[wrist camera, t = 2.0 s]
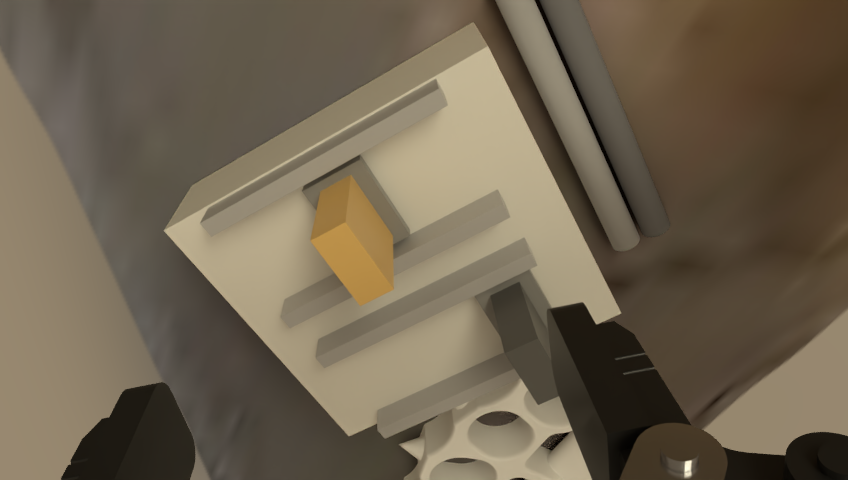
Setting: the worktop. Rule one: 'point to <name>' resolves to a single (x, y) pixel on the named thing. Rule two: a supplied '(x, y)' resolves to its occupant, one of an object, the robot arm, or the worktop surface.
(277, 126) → the worktop surface
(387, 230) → the breaker toggle
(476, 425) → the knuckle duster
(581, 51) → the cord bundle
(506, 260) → the breaker housing
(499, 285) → the toggle
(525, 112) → the worktop surface
